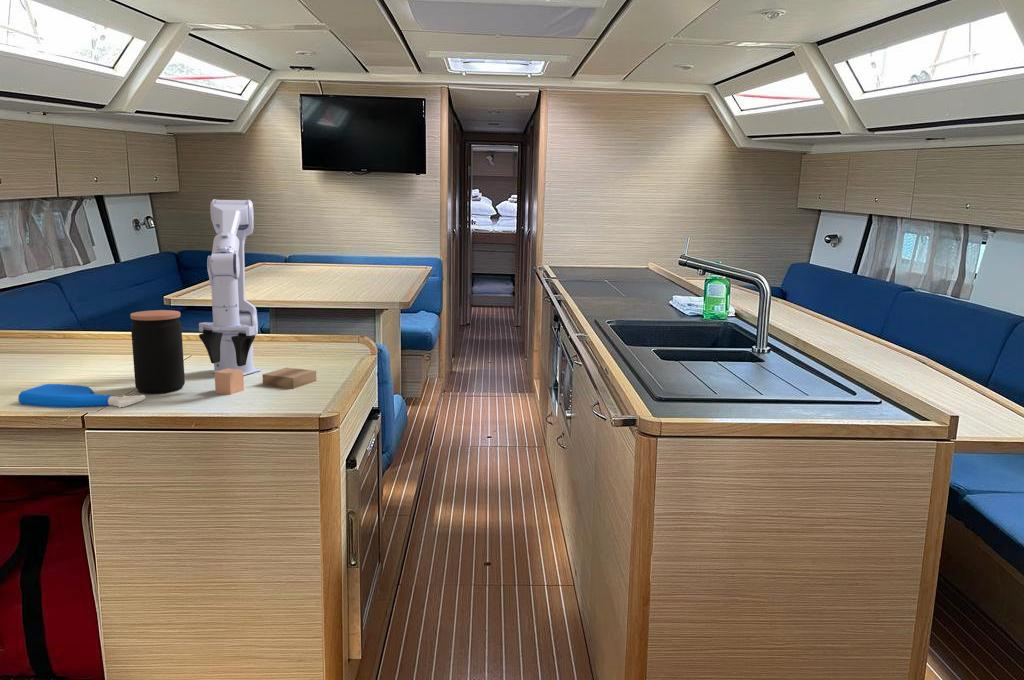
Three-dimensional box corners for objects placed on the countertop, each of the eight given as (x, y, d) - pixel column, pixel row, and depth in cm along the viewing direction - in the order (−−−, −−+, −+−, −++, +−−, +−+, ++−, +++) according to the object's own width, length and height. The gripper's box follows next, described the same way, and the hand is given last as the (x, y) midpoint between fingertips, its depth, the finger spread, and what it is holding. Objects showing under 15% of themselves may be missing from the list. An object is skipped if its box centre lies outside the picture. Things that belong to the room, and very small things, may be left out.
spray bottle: (12, 393, 165) (117, 401, 161) (50, 382, 175) (149, 389, 172) (13, 406, 165) (118, 415, 162) (51, 394, 176) (150, 401, 172)
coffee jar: (195, 386, 184) (190, 311, 181) (161, 396, 174) (156, 317, 171) (159, 382, 187) (154, 309, 184) (124, 392, 177) (118, 314, 174)
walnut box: (262, 386, 187) (262, 374, 186) (286, 379, 195) (286, 367, 194) (293, 390, 183) (293, 377, 183) (316, 382, 191) (316, 370, 191)
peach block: (215, 392, 178) (214, 371, 177) (229, 388, 182) (228, 368, 181) (230, 394, 177) (229, 373, 176) (244, 390, 181) (243, 369, 180)
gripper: (187, 305, 175) (191, 364, 177) (238, 309, 170) (241, 370, 172) (210, 302, 181) (213, 359, 184) (260, 306, 176) (262, 364, 178)
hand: (228, 364), depth 178 cm, fingers open, 7 cm apart
